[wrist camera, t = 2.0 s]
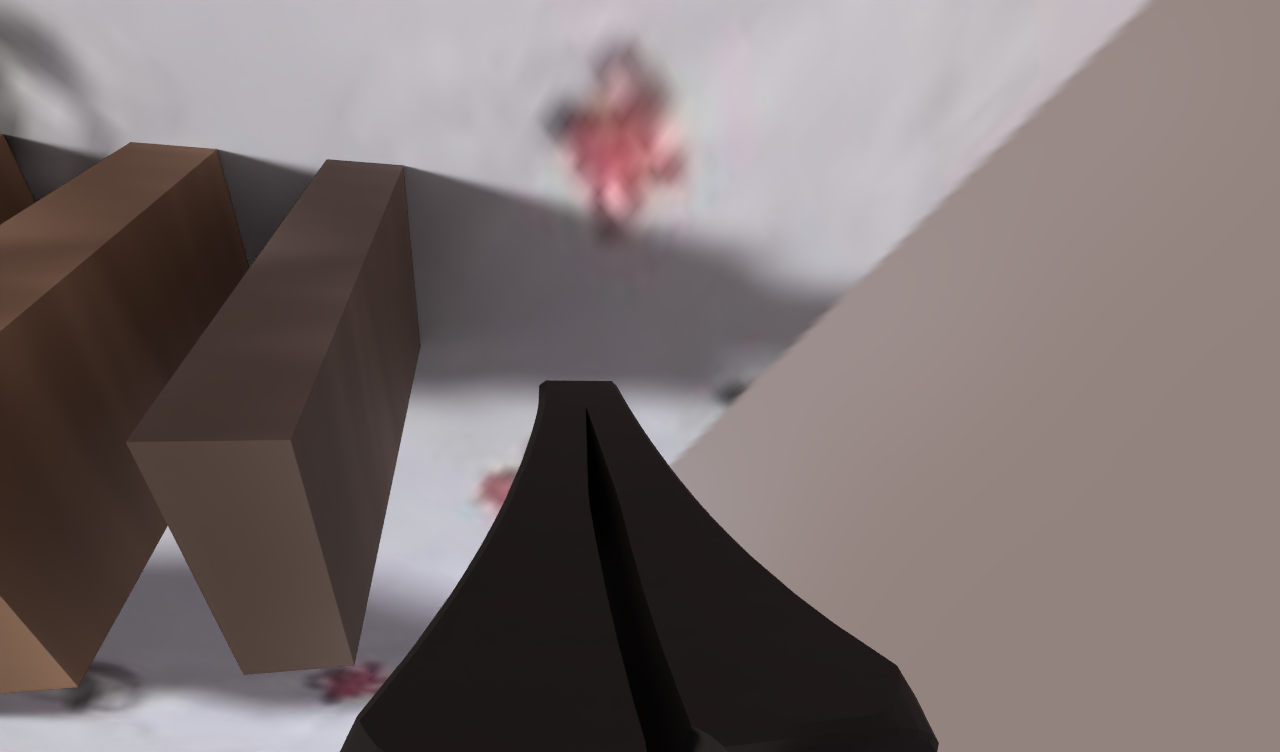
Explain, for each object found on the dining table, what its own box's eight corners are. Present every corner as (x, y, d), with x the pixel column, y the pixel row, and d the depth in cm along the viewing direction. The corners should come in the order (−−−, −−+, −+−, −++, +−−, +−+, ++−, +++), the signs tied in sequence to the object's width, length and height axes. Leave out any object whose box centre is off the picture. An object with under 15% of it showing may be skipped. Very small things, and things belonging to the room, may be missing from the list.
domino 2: (403, 165, 14) (290, 440, 7) (420, 346, 17) (354, 664, 10) (326, 159, 13) (125, 441, 6) (358, 344, 16) (243, 674, 9)
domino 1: (217, 149, 13) (-132, 441, 6) (269, 341, 16) (77, 687, 9) (130, 142, 13) (-345, 443, 6) (200, 340, 16) (-54, 697, 9)
